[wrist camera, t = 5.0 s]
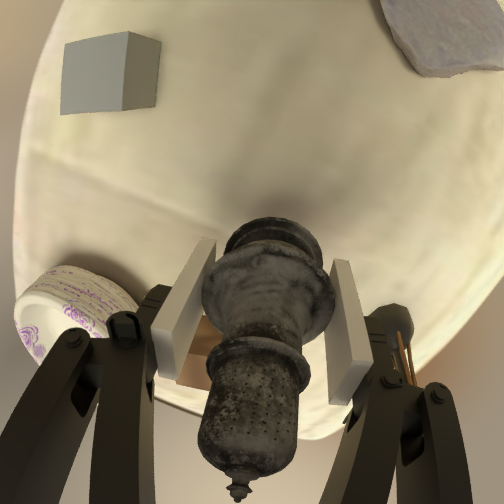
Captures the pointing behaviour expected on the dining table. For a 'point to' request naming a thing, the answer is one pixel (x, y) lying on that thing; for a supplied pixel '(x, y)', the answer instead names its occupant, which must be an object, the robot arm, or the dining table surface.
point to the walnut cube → (199, 356)
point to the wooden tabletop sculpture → (398, 337)
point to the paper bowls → (67, 307)
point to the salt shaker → (261, 346)
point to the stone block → (448, 34)
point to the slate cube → (109, 74)
